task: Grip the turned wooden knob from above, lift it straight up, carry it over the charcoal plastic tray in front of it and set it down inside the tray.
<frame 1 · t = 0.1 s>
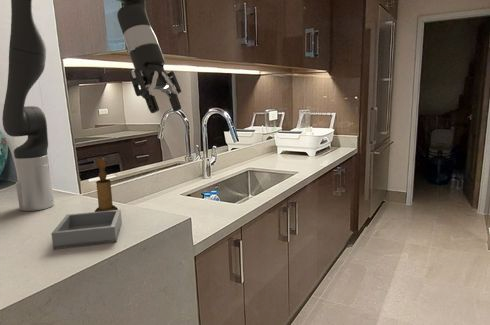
hand: (167, 111, 85), 31 cm above the counter, tool tilted 20°, fingers open, 8 cm apart
tray: (90, 234, 89), on the counter
turned wooden knob: (106, 217, 103), on the counter
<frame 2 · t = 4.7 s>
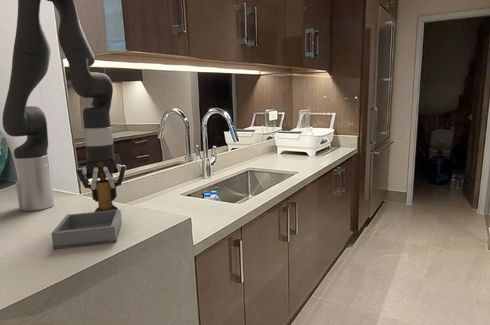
hand: (105, 200, 102), 5 cm above the counter, tool pointing down, fingers closed on turned wooden knob, 4 cm apart
turned wooden knob: (106, 217, 103), on the counter, touching gripper
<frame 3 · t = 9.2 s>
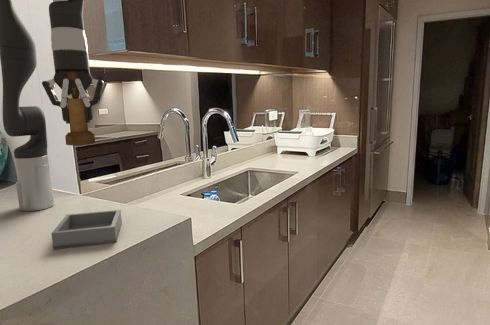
hand: (78, 122, 84), 29 cm above the counter, tool pointing down, fingers closed on turned wooden knob, 4 cm apart
turned wooden knob: (81, 144, 85), point 24 cm above the counter, touching gripper
when the fingers open (8 cm above the counter, at t = 14.0 s): turned wooden knob drops 2 cm, resting on tray.
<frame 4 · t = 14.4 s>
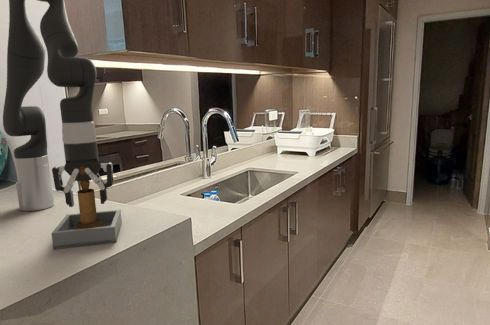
hand: (87, 204, 88), 8 cm above the counter, tool pointing down, fingers open, 7 cm apart
turned wooden knob: (90, 232, 89), point 1 cm above the counter, touching tray
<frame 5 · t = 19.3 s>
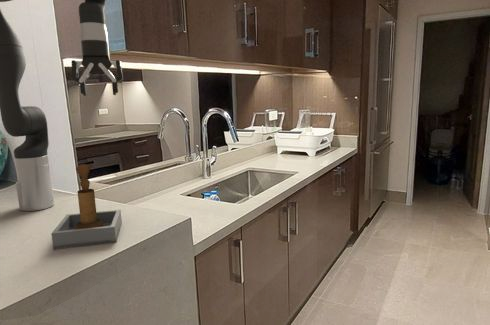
hand: (100, 95, 106), 36 cm above the counter, tool pointing down, fingers open, 8 cm apart
nothing on the counter moved.
at the end: turned wooden knob inside the target area on the tray (0.1 cm from its centre), point 0.6 cm above the tray's base; the gripper is holding nothing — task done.
